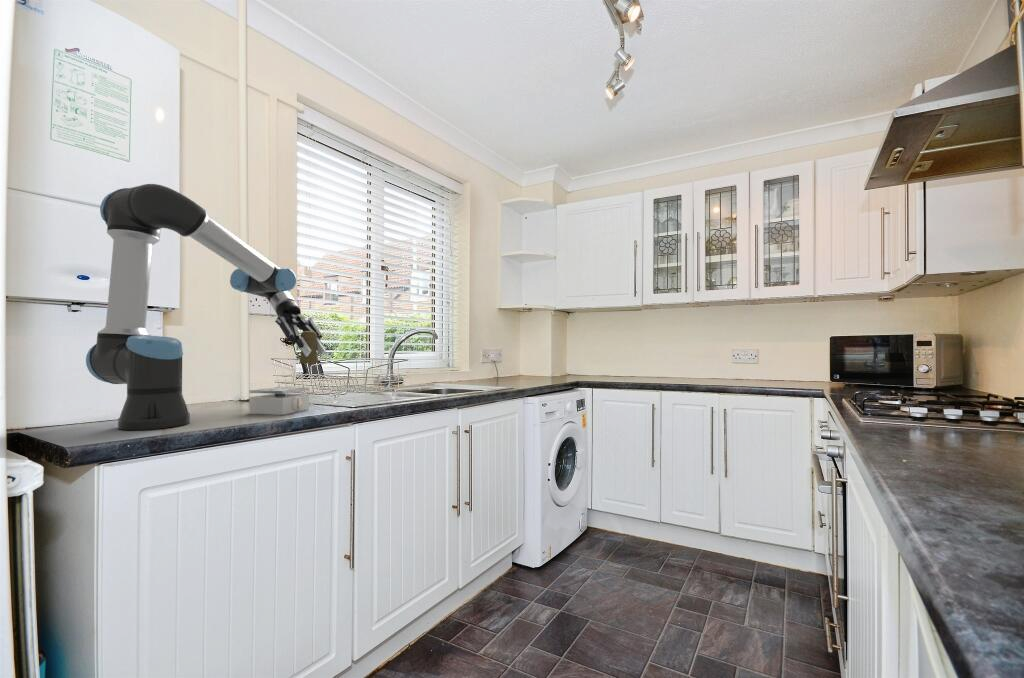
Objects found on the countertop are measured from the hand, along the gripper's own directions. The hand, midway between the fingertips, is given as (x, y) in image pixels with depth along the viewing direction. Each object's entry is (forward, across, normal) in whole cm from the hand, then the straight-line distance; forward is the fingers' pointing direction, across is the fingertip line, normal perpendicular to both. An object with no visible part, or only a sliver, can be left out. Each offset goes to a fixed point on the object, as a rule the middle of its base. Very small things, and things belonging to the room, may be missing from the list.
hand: (316, 353), depth 165 cm
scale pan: (+9, +14, -7) cm, 18 cm away
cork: (0, 0, -5) cm, 5 cm away
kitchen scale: (+14, +14, -12) cm, 23 cm away
